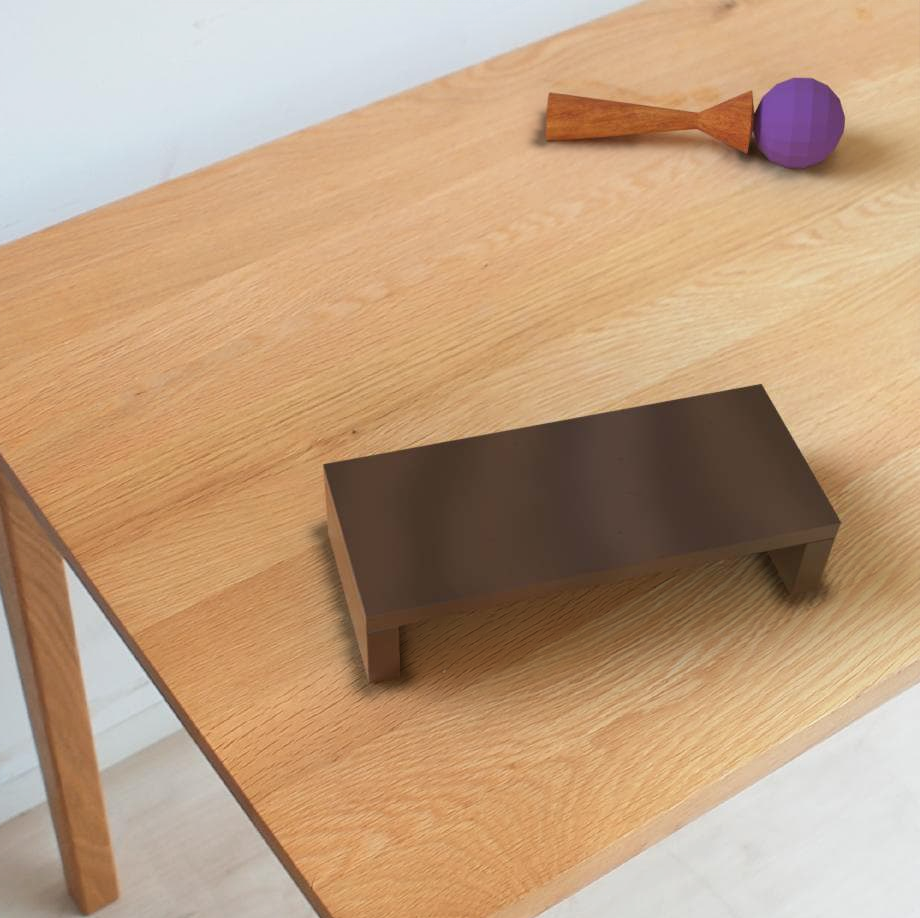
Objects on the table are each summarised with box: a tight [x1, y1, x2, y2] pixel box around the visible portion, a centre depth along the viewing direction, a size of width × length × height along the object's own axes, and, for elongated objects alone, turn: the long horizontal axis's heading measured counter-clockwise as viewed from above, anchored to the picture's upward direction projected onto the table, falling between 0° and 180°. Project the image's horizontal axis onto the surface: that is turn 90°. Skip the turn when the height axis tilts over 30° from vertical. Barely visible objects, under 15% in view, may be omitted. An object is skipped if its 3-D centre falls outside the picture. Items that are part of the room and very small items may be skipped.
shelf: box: [322, 383, 842, 684], centre depth 75 cm, size 24×10×6 cm, turn 104°
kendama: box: [545, 77, 846, 170], centre depth 99 cm, size 6×6×20 cm
